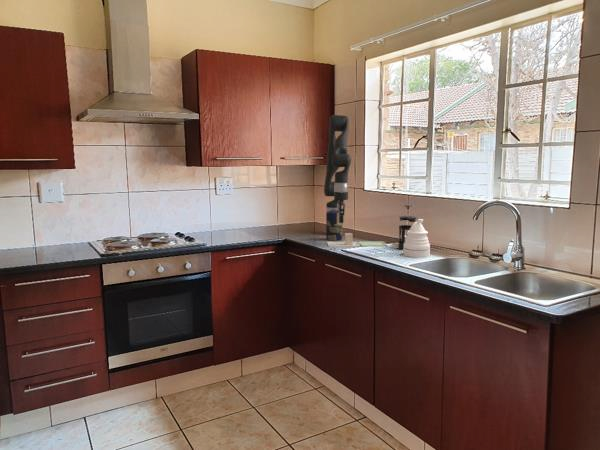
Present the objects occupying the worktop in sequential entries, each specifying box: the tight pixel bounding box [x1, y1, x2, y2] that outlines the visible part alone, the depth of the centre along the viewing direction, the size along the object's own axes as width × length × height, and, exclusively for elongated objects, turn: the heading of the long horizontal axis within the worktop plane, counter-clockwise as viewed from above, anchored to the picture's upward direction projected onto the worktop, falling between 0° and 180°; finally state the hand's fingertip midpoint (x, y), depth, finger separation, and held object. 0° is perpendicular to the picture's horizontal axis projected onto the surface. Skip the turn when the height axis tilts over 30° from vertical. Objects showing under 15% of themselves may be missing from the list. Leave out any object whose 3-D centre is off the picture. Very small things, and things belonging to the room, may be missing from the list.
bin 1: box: [326, 241, 361, 248], centre depth 264 cm, size 12×17×1 cm
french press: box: [397, 205, 417, 251], centre depth 253 cm, size 12×9×23 cm
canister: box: [325, 210, 343, 242], centre depth 280 cm, size 10×10×18 cm
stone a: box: [337, 212, 346, 226], centre depth 262 cm, size 4×4×6 cm
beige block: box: [343, 232, 354, 245], centre depth 264 cm, size 4×4×6 cm
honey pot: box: [402, 218, 431, 259], centre depth 236 cm, size 13×13×18 cm
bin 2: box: [357, 240, 389, 248], centre depth 265 cm, size 12×14×1 cm
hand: (340, 222), depth 262 cm, fingers closed on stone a, 4 cm apart
